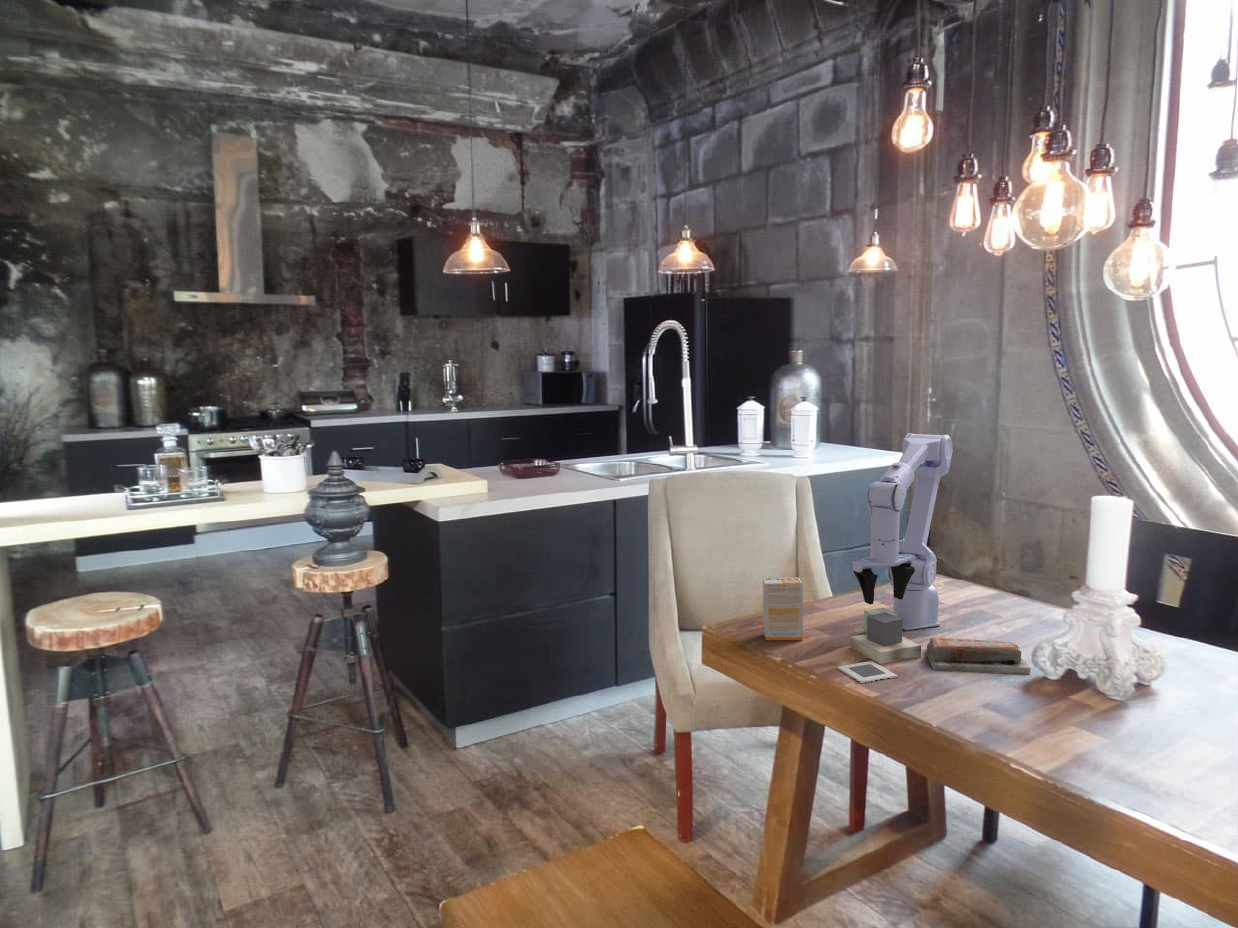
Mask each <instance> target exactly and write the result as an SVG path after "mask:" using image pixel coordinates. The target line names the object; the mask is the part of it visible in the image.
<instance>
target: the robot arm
mask: <svg viewBox="0 0 1238 928" xmlns="http://www.w3.org/2000/svg"><path fill="white" fill-rule="evenodd" d="M901 451H902V455H901V457H900V459H899V460H898V462H893V463H892V464H890V466H889V467H888V468H887V470H886V471H885V472H884V474H883V475H882V476H881V477H880V480H879V481H874V482H872V483H870V484H869V486H868V488H867V491H866V496H865V497H866V499H865V500H866V505H867V508H868V509H867V510H868V516H869V517H870V553H869V555H868V557H865V558H862V559H859V560H855V561H852V571H853V574H854V575H855V577H856V579H857V581H858V583H859V586H860V589H861V593H862V596H863V601H864V603H866V604H869V605H874V601H875V590H876V589H875V588H876V583H877V579H878V577H879V575H878V574H876V573H874V571H872V570H878V569H885V570H884V571H885V577H886V578H887V580H888V581H889V582H890V586H892V588H893V589H892V591H893V592H892V595H893V599H892V600H893V601H892V602H893V603H892V612H894V613H896V614H897V617H899V618H902V619H903V630H904V631H911V630H912V631H913V630H918V629H924V628H931V627H938V626H941V623H940V622H939V593H938V591H937V589H936V588H935V586H934V583H935V580H936V575H937V561H938V559H937V556H936V554H935V553H934V551H932V550H931V549H930V547H928V546H927V544H928V540H929V539H928V538H929V533H930V530H931V529H930V528H931V524H932V523H931V522H932V520H933V519H932V518H933V514H934V509H935V504H936V499H937V494H938V489H939V485H940V481H941V477H943V476H945V475H946V474H948V473H949V469H950V466H951V461H952V457H953V441H952V438H951V437H950V436H949V435H948V434H942V435H941V434H924V433H923V434H922V433H921V434H920V433H912V432H909V433H907V434H906V435H905V436H904V438H903V440H902V445H901ZM915 475H916V477H917V478H916V483H915V488H914V492H913V497H912V502H911V506H910V507H911V508H910V510H909V511H910V512H909V516H908V522H907V526H906V532H905V535H904V536H905V537H904V539H903V541H902V542H900V514H901V513H900V511H901V510H902V509H903V507H904V504H905V499H906V497H907V490H908V489H909V487H910V486H911V484H913V482H914V480H915Z"/></svg>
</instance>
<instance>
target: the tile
mask: <svg viewBox="0 0 1238 928" xmlns="http://www.w3.org/2000/svg"><path fill="white" fill-rule="evenodd" d="M837 669H838V670H840V671H841V672H842V673H844V674H846V675H847V676H849V677H850V678H852V679H854V678H855V679H856V680H855V679H854V680H855V681H857V682H858V681H859V682H858V683H860V684H865V682H866V683H870V682H871V681H872V682H876V681H875V680H878V681H881V680H880V679H884V680H888V679H887V678H890V679H895V678H897V677H898V675H897V674H896V673H894V672H892V671H890V670H889V669H887V668H885V667H884V666H882V665H881V664H879V663H877V662H875V661H873V660H869V661H864V662H858V663H851V664H845V665H840V666H837ZM872 682H871V683H872Z"/></svg>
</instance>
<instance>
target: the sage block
mask: <svg viewBox="0 0 1238 928" xmlns="http://www.w3.org/2000/svg"><path fill="white" fill-rule="evenodd" d="M884 612H886V613H889V614H891V615H894V616H897V614H896V613H894V612H893V611H891V610H889V609H888V608H884V607H879V608H871V609H865V610H864V611H863V632H864V633H865V634H867V616H870V615H874V614H879V613H884Z"/></svg>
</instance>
